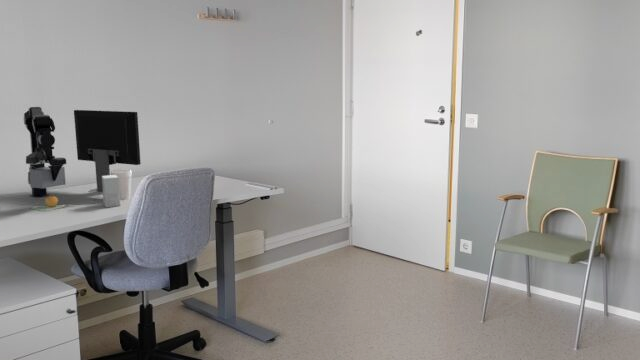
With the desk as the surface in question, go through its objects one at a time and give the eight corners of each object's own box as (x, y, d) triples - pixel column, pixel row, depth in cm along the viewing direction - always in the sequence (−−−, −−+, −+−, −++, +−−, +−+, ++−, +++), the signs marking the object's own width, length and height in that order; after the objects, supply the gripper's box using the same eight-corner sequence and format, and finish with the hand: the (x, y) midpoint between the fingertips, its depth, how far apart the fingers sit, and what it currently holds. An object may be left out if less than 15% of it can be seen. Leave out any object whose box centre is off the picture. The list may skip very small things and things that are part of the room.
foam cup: (126, 200, 282) (124, 173, 279) (108, 200, 284) (106, 172, 281) (136, 196, 291) (135, 169, 289) (119, 195, 293) (117, 169, 290)
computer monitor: (145, 193, 297) (140, 111, 290) (133, 196, 290) (127, 112, 283) (86, 186, 316) (80, 109, 309) (73, 189, 309) (66, 110, 301)
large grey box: (30, 187, 264) (29, 169, 263) (53, 183, 275) (52, 166, 273) (43, 188, 261) (41, 170, 259) (65, 184, 271) (64, 167, 270)
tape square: (30, 209, 266) (30, 208, 266) (49, 204, 275) (49, 204, 275) (46, 211, 262) (46, 210, 262) (65, 206, 271) (65, 206, 271)
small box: (120, 206, 271) (118, 177, 269) (105, 207, 268) (103, 178, 266) (118, 202, 278) (116, 174, 276) (103, 204, 275) (101, 175, 273)
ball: (46, 193, 270) (53, 199, 274) (41, 202, 268) (48, 208, 271) (55, 193, 268) (62, 199, 272) (49, 203, 266) (56, 209, 270)
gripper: (13, 146, 261) (17, 181, 264) (44, 147, 253) (47, 184, 256) (35, 143, 271) (38, 177, 274) (65, 144, 263) (68, 180, 266)
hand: (47, 180), depth 267 cm, fingers closed on large grey box, 8 cm apart
